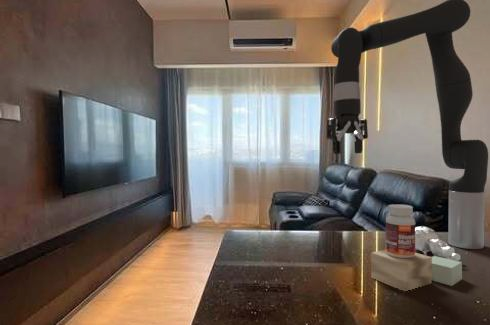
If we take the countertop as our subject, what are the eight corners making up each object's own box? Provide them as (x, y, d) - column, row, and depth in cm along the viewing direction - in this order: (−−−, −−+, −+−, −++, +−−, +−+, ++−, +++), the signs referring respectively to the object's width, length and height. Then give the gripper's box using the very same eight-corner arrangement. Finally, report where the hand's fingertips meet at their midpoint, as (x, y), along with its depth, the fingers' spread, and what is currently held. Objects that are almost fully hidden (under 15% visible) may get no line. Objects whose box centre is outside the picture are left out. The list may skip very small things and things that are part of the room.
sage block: (433, 271, 79) (434, 255, 79) (461, 279, 75) (461, 262, 75) (423, 277, 76) (423, 261, 76) (451, 285, 71) (451, 268, 71)
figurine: (450, 235, 83) (414, 213, 98) (428, 254, 84) (396, 230, 98) (472, 260, 86) (434, 235, 100) (450, 278, 86) (416, 251, 101)
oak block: (396, 270, 80) (396, 247, 80) (431, 283, 72) (431, 257, 72) (371, 277, 76) (371, 252, 76) (405, 292, 68) (406, 264, 68)
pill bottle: (401, 260, 70) (401, 209, 70) (379, 252, 76) (379, 205, 76) (421, 256, 73) (421, 207, 72) (399, 249, 78) (399, 203, 78)
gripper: (338, 96, 89) (339, 154, 90) (374, 98, 96) (374, 152, 96) (320, 100, 96) (321, 154, 96) (354, 102, 102) (355, 153, 103)
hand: (348, 153), depth 96 cm, fingers open, 8 cm apart
